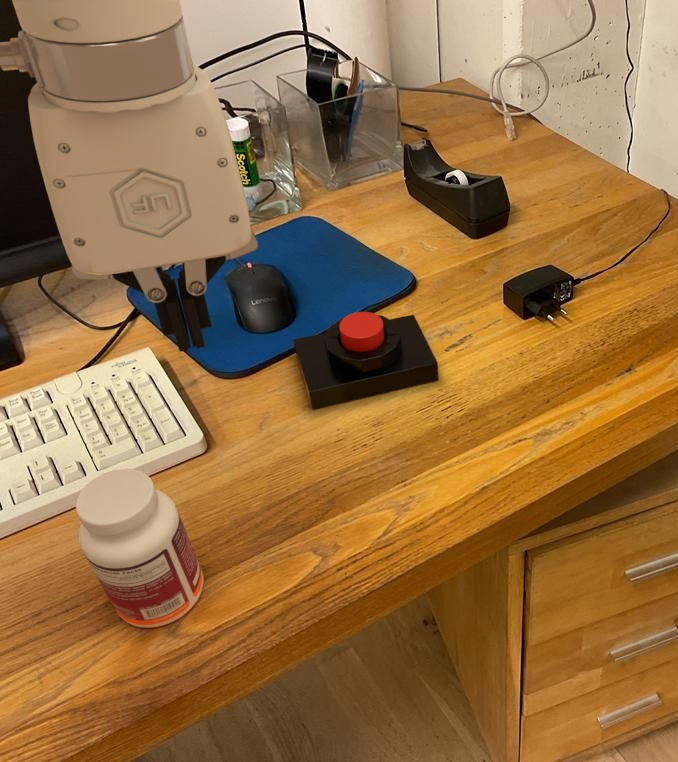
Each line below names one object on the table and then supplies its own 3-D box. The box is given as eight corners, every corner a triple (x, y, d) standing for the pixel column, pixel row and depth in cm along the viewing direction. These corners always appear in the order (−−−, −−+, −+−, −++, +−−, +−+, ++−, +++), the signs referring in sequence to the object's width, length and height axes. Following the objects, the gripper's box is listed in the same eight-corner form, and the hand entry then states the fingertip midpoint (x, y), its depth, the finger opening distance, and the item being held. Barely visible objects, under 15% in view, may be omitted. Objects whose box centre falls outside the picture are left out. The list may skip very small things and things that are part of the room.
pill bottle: (152, 548, 62) (108, 448, 54) (222, 572, 60) (186, 472, 53) (96, 615, 57) (40, 516, 50) (169, 643, 56) (123, 545, 49)
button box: (312, 410, 74) (306, 377, 71) (296, 356, 79) (290, 324, 76) (438, 380, 77) (437, 347, 74) (414, 331, 82) (412, 299, 80)
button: (346, 356, 74) (344, 341, 72) (337, 331, 76) (334, 316, 75) (389, 347, 75) (387, 332, 74) (378, 322, 78) (376, 307, 76)
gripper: (-59, 100, 37) (67, 398, 49) (273, 68, 42) (314, 347, 54) (-43, 46, 42) (67, 327, 54) (250, 23, 47) (292, 287, 59)
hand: (190, 336), depth 54 cm, fingers closed
